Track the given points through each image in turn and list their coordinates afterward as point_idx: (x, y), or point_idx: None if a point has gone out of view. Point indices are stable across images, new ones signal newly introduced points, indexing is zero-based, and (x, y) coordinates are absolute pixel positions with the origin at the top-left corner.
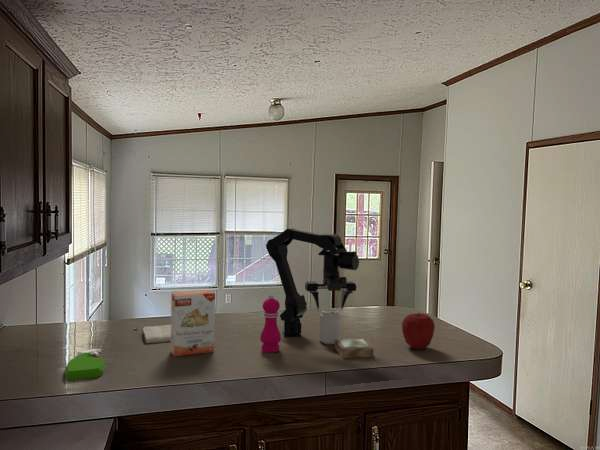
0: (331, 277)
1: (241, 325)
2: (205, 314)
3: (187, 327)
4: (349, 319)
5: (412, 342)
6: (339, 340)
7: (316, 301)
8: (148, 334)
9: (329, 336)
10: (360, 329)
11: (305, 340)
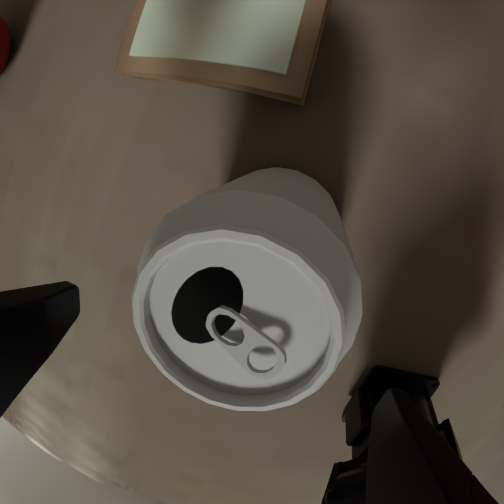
0: None
1: None
2: None
3: None
4: (89, 427)
5: (2, 22)
6: (287, 55)
7: (462, 469)
8: None
9: (305, 180)
10: (70, 334)
11: (391, 302)
